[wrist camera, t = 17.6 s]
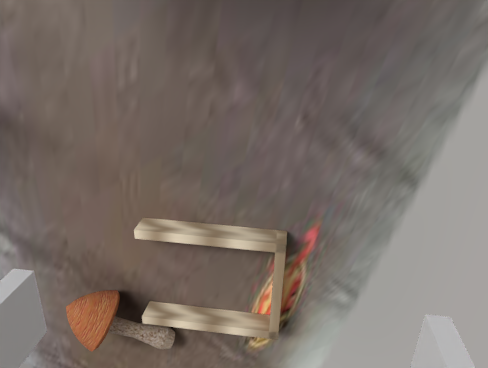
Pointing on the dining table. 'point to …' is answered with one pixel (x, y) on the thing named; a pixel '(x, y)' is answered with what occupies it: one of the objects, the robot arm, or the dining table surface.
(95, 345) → the mushroom
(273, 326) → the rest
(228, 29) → the dining table surface
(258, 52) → the dining table surface
